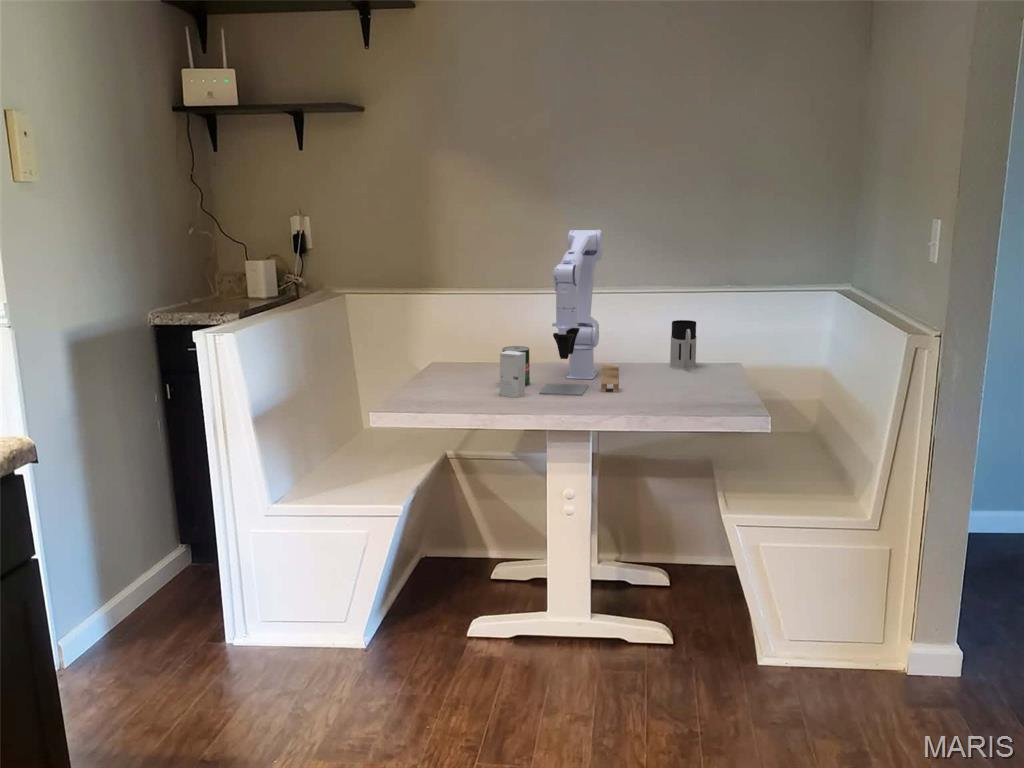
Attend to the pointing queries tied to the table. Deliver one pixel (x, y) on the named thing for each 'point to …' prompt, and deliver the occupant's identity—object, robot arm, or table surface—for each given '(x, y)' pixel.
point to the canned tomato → (527, 373)
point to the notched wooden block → (610, 377)
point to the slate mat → (564, 389)
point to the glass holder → (683, 345)
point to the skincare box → (512, 373)
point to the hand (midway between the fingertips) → (566, 356)
